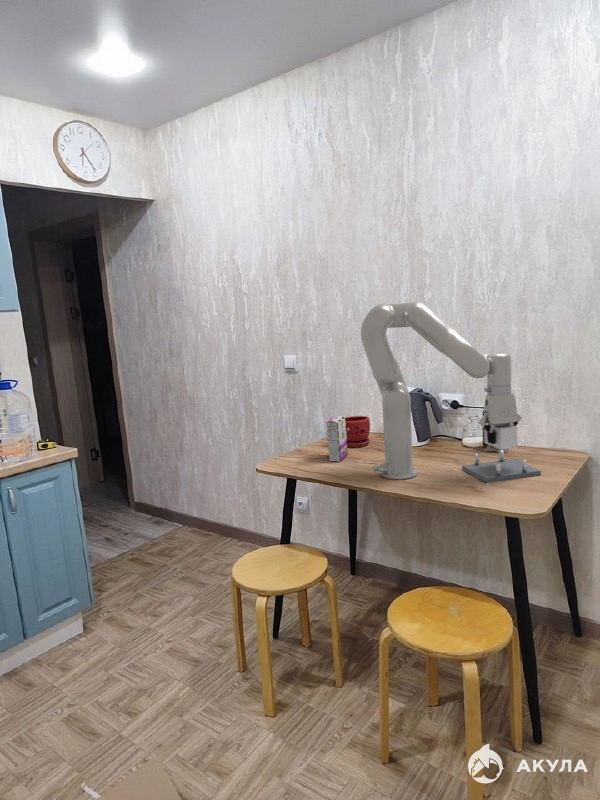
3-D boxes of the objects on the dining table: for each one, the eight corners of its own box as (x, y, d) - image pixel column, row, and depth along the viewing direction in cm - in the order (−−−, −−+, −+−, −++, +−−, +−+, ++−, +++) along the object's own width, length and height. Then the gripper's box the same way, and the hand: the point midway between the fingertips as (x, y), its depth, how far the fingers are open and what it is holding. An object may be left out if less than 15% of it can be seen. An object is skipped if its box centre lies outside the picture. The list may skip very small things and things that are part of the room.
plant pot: (373, 441, 244) (371, 414, 242) (367, 448, 232) (366, 421, 230) (344, 441, 248) (343, 415, 246) (337, 448, 236) (336, 421, 234)
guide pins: (497, 476, 179) (497, 464, 179) (473, 464, 194) (473, 453, 193) (528, 472, 181) (528, 460, 181) (502, 460, 196) (502, 449, 195)
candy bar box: (336, 454, 226) (334, 415, 223) (348, 454, 224) (345, 415, 222) (328, 462, 216) (325, 421, 213) (340, 462, 214) (338, 421, 211)
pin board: (486, 482, 178) (486, 478, 178) (462, 469, 194) (462, 465, 194) (540, 475, 182) (540, 470, 182) (512, 462, 198) (512, 458, 197)
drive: (500, 449, 181) (500, 428, 180) (484, 443, 191) (484, 423, 189) (517, 447, 182) (516, 426, 181) (500, 440, 192) (499, 421, 191)
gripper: (481, 394, 178) (483, 447, 181) (529, 388, 181) (529, 441, 184) (470, 391, 185) (471, 442, 188) (515, 385, 189) (516, 436, 191)
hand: (500, 441), depth 186 cm, fingers closed on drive, 6 cm apart
